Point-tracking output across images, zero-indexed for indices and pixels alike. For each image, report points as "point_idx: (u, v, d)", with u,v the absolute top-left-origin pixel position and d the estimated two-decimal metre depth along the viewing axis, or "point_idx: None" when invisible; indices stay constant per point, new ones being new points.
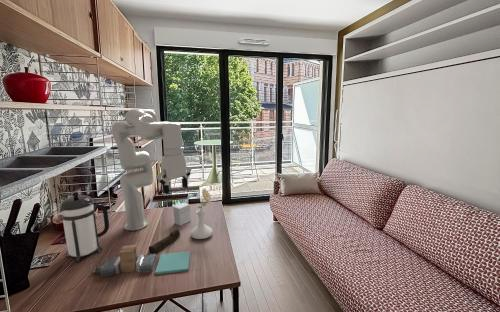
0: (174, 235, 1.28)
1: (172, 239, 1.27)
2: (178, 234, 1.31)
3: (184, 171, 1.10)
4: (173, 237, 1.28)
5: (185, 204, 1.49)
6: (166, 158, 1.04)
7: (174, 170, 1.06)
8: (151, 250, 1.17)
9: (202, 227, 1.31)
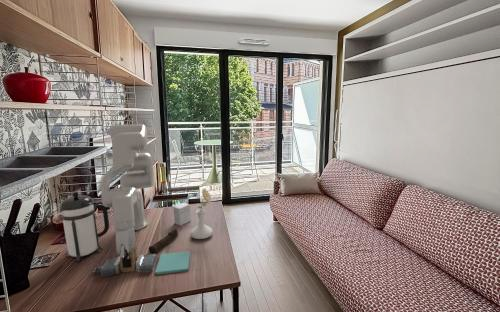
0: (173, 234, 1.29)
1: (171, 238, 1.27)
2: (176, 233, 1.32)
3: (134, 238, 1.09)
4: (172, 236, 1.28)
5: (185, 204, 1.49)
6: (124, 232, 1.00)
7: (131, 241, 1.03)
8: (151, 250, 1.17)
9: (202, 227, 1.31)
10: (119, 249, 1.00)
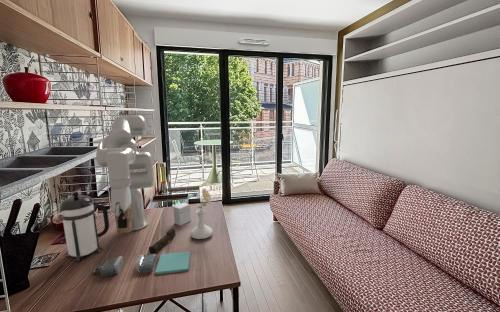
0: (171, 234, 1.29)
1: (170, 238, 1.28)
2: (174, 233, 1.33)
3: (130, 199, 1.06)
4: (170, 236, 1.28)
5: (185, 204, 1.49)
6: (120, 190, 0.96)
7: (127, 200, 1.00)
8: (152, 250, 1.17)
9: (202, 227, 1.31)
10: (114, 208, 0.97)
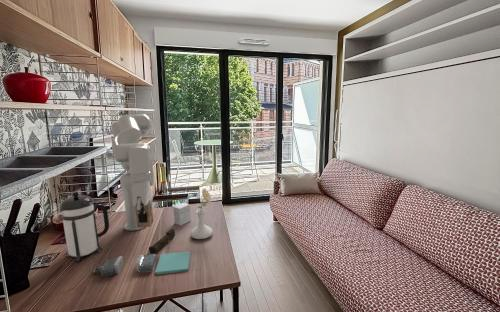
0: (171, 234, 1.29)
1: (169, 238, 1.28)
2: (174, 233, 1.33)
3: (150, 194, 1.06)
4: (170, 236, 1.29)
5: (185, 204, 1.49)
6: (141, 184, 0.97)
7: (147, 195, 1.01)
8: (152, 250, 1.17)
9: (202, 227, 1.31)
10: (135, 202, 0.97)
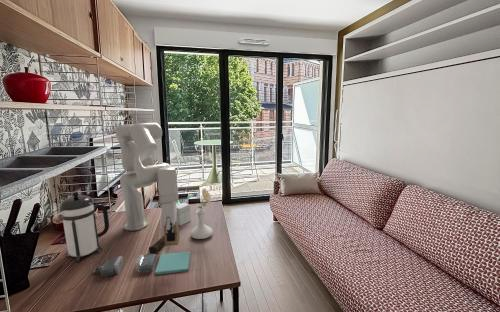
0: None
1: None
2: None
3: None
4: None
5: (185, 204, 1.49)
6: (170, 204, 1.01)
7: (175, 214, 1.04)
8: (152, 250, 1.17)
9: (202, 227, 1.31)
10: (165, 222, 1.01)
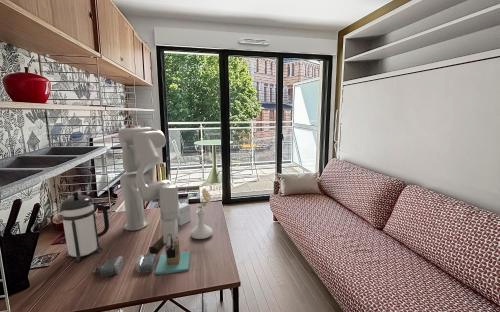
0: None
1: None
2: None
3: None
4: None
5: (185, 204, 1.49)
6: (171, 222, 1.02)
7: (176, 231, 1.06)
8: (153, 250, 1.16)
9: (202, 227, 1.31)
10: (166, 239, 1.02)
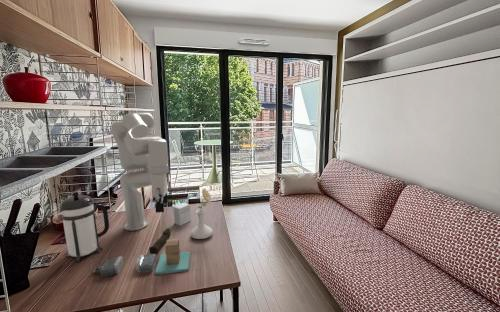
0: (168, 233, 1.30)
1: (167, 238, 1.28)
2: (169, 232, 1.33)
3: None
4: (167, 236, 1.29)
5: (185, 204, 1.49)
6: (160, 176, 1.02)
7: (165, 186, 1.06)
8: (153, 250, 1.17)
9: (202, 227, 1.31)
10: (155, 193, 1.02)
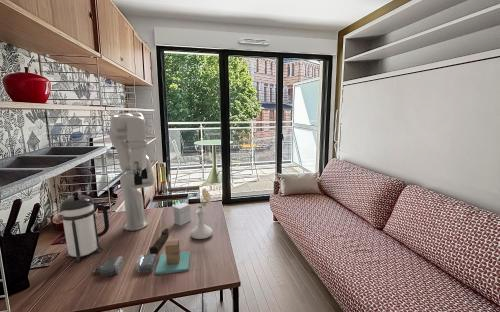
0: (166, 233, 1.30)
1: (166, 237, 1.29)
2: (168, 232, 1.33)
3: (146, 162, 1.18)
4: (166, 235, 1.29)
5: (185, 204, 1.49)
6: (138, 150, 1.09)
7: (144, 161, 1.13)
8: (154, 250, 1.17)
9: (202, 227, 1.31)
10: (133, 166, 1.09)
